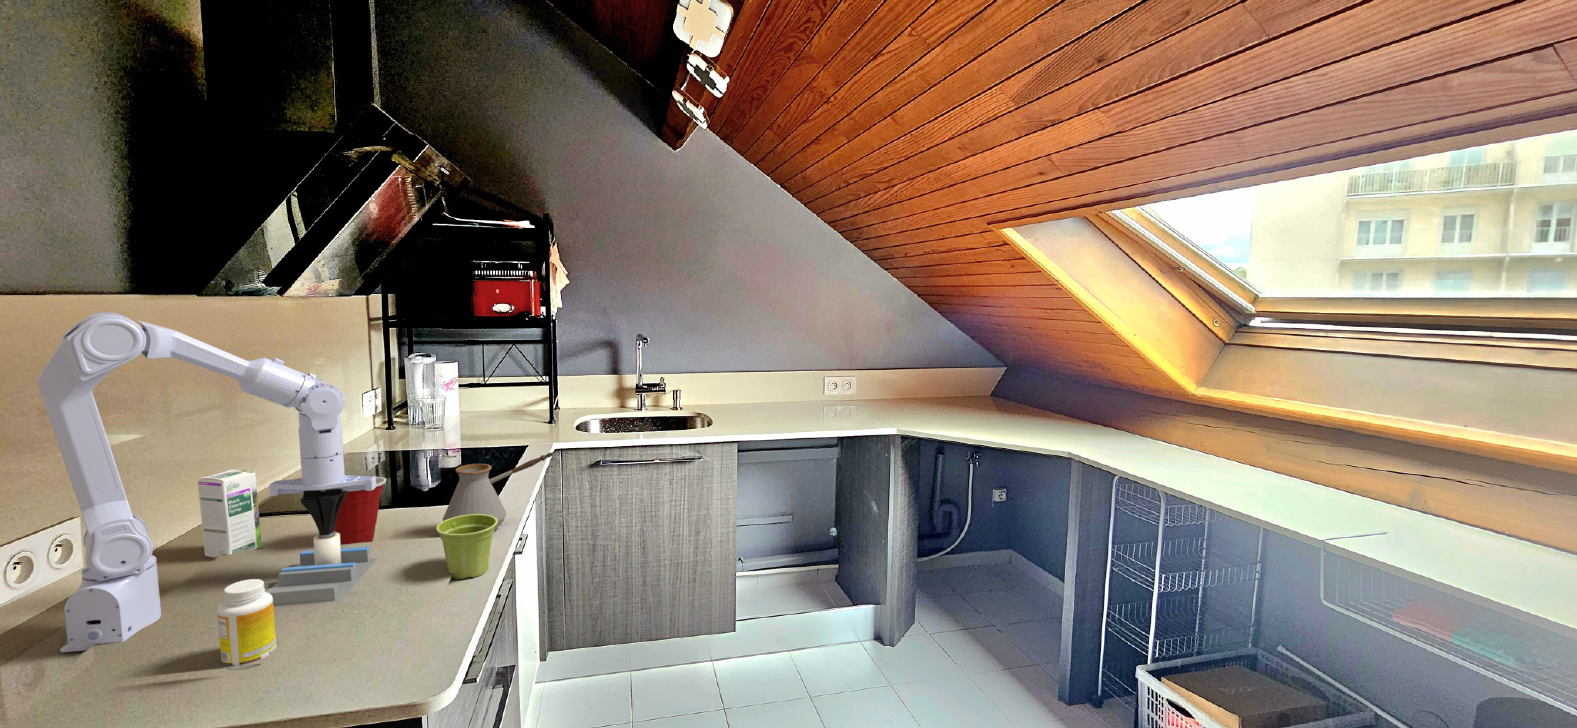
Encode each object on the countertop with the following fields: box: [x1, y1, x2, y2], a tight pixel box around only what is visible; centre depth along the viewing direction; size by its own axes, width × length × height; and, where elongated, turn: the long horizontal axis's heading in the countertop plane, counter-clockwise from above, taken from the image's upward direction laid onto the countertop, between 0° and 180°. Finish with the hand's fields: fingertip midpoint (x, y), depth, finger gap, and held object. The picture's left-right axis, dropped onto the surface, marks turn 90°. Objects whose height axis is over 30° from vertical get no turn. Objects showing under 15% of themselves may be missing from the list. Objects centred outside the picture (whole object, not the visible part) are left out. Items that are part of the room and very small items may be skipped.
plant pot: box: [436, 514, 498, 580], centre depth 111 cm, size 9×9×9 cm
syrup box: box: [197, 469, 263, 559], centre depth 116 cm, size 6×6×14 cm
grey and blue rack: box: [264, 546, 378, 608], centre depth 105 cm, size 16×12×3 cm
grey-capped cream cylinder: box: [312, 531, 342, 565], centre depth 108 cm, size 4×4×7 cm
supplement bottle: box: [216, 578, 277, 671], centre depth 84 cm, size 6×6×10 cm
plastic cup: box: [335, 476, 387, 545], centre depth 122 cm, size 11×11×12 cm
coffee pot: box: [442, 451, 558, 532], centre depth 131 cm, size 21×12×15 cm, turn 113°
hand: (327, 533), depth 108 cm, fingers closed, pressing on grey-capped cream cylinder
